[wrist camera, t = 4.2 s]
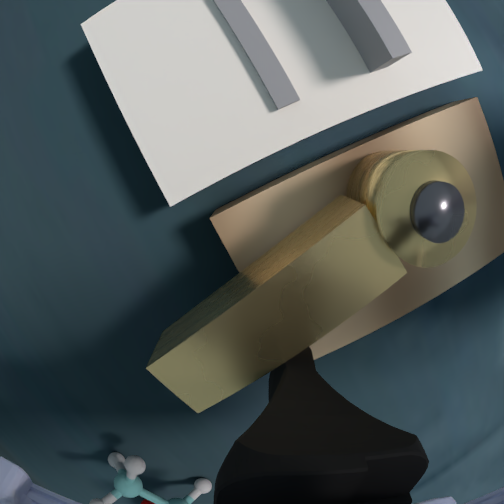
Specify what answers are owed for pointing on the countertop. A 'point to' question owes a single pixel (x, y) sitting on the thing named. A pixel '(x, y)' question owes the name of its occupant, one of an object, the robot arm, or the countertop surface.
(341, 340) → the strip
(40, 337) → the countertop surface
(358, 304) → the lock arm
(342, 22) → the door panel
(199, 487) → the molecular model
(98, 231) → the countertop surface
